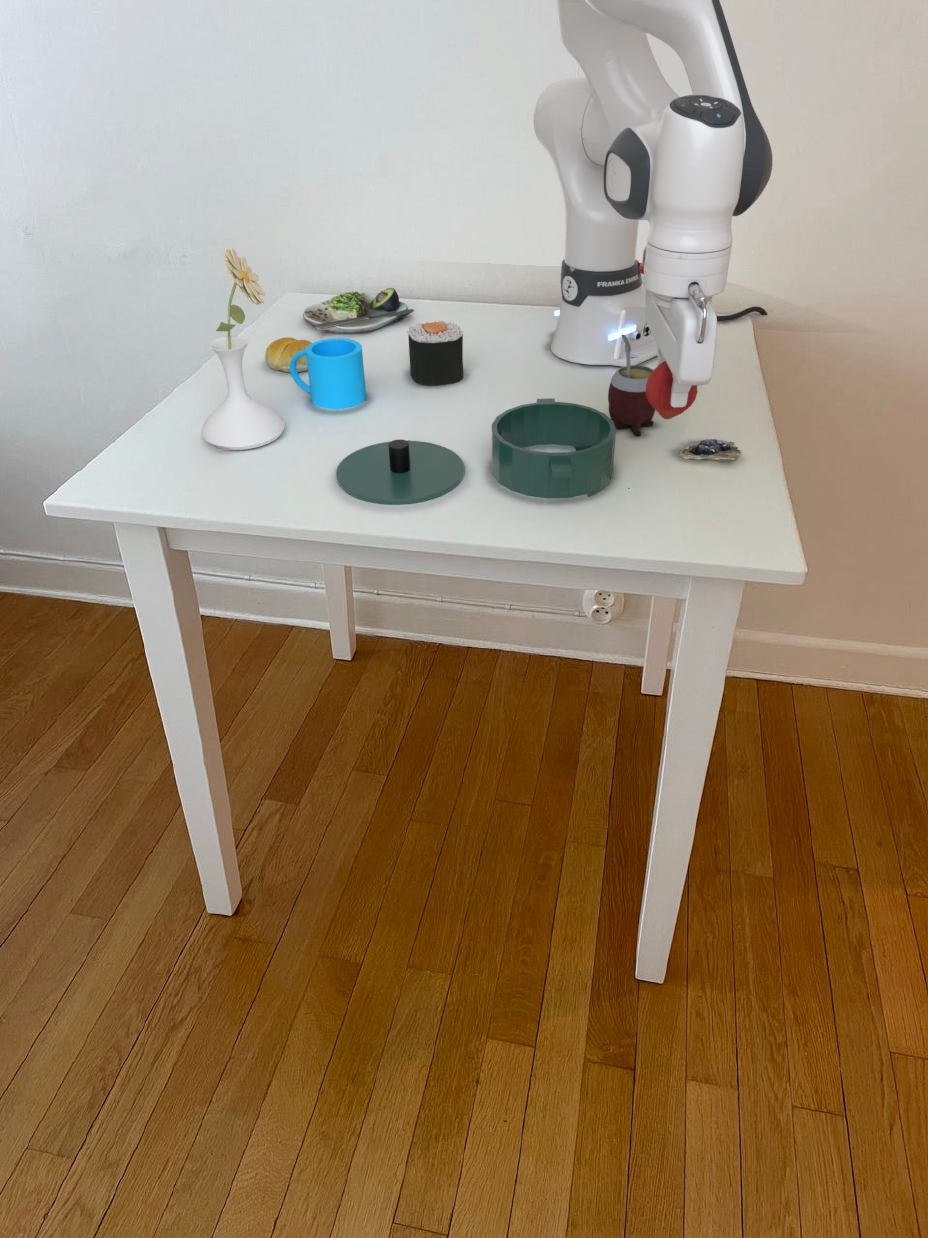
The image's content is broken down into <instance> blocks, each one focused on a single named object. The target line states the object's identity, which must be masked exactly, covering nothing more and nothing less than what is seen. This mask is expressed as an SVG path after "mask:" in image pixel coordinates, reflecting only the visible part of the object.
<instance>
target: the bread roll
mask: <svg viewBox="0 0 928 1238" xmlns="http://www.w3.org/2000/svg"><path fill="white" fill-rule="evenodd" d="M312 343H313V342H312V341H309V340H307V339H296V338H294V337H280V338H278V339H276V340H273V342H271V343H270V344H268V346H267V348H266V349H265V355H264V357H265V362H266V365H267V366H268V367H269V368H270V369H272V370H275V371H282V372H284V373H290V362H291V360H292V357H293V356H294V355H295V354H296V353H298V352H299V351H302V350H305V349H306V347H308V346H309V345H310V344H312ZM306 371H308V368H307V360H306V355H304V356H302V357H301V358H299V360H298V362H297V372H298V373H301V372H306Z"/></svg>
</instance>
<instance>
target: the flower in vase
mask: <svg viewBox="0 0 928 1238" xmlns="http://www.w3.org/2000/svg"><path fill="white" fill-rule="evenodd" d="M223 258H224V263H225V266H226V269H227V271H228V273H229V274H230V276H231V279H232V280H233V282H234V283H233V285H232V288H231V292H230V295H229V298H228V306H227V323H226V322H223V321H220V323H219V326H218V328H217V329H216V330H215V332H227V336H223V337H219V338H215V339H214V340H212V341H210V343H209V344H208V345H209V348H210V349H211V350H212V351H213V352H214V353H215V354H216V356H217V358H218V359H219V361H220V363H221V365H222V369H223V371H224V375H225V379H226V385H227V395H226V398H225V399H224V400H223V402H222V403H221V404H220V405H219V406H218V407H217V408H216V409H215V410H214V411H213V412H212V413H210V415H208V417H207V418H206V419H205V420H204V422H203V424H202V428H201V433H200V434H201V437H202V439H203V440H204V441H205V442H206V443H207V444H209V445H211V446H212V447H215V448H217V449H220V450H221V449H222V450H229V451H230V450H231V451H242V450H244V451H245V450H252V449H255V448H259V447H262V446H266V445H268V444H270V443H272V442H274V441H275V440H277V439H279V437H280V436H281V435H282V434H283V432H284V430H285V428H286V423H285V421H284V419H283V418H282V416H281V414H280V413H278V412H277V411H276V410H275V409H273V408H272V407H270V406H268V405H267V404H265V403H262V402H260V401H259V400H257V399H255V398H253V397H252V396H251V395H250V394H249V393H248V391H247V389H246V384H245V381H244V372H243V371H244V370H243V357H244V353H245V350H246V348H247V346H248V344H249V340H248V339H247V338H245V337H242V336H236V335H233V336H232V335H231V330H232V329H234V328H235V327H236V326H237V324H239V325H242V324H243V323H244V322H245V321H246V320H245V319H246V315H245V312H244V310H243V308H242V307H240V306H239V305H236V304H232V302H233V298H234V295H235V291H236V289H238V290H239V292H241V293H242V295H243V296H244V297H245V298H246V299H247V300H248V301H249V302H250V303H251V304H255V305H257V306H259V305H260V306H261V305H262V304H265V301H264V299H263V298H262V297H261V296H263V297H264V296H265V294H266V293H265V291H264V290H263V288H262V286H261V284H259V283H258V282H259V279H260V278H259V275H258V274H257V273H255V272H253V269H252V268H251V266H249V265H248V260H247V259H246V257H245V256H241V257H239V256H238V254H237V251H236V249H234V248H233V246H230V247H229V249H228V248H227V247H225V248H224V252H223ZM260 295H261V296H260ZM231 319H232V320H233V321H234V322H235V323H237V324H231Z"/></svg>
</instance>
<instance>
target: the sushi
mask: <svg viewBox="0 0 928 1238" xmlns="http://www.w3.org/2000/svg"><path fill="white" fill-rule="evenodd" d="M406 333H407V337H408V353H409V354H408V356H409V370H410V371H409V372H410V373H409V374H410V377H411V379H412V380H413V381H414V382H415V383H416V384H418V385H421V386H430V387H431V386H432V387H433V386H435V387H436V386H445V385H452V384H456V383H459V382H460V381H462V380H463V379H464V358H463V357H464V355H463V354H464V353H463V352H464V347H463V346H464V331H462V327H461V326H459V325H457V324H455V323H454V322H451V321H446V322H445V321H443V320H439V321H436V320H434V321H433V322H432V321H431V322H428V321H425V323H423V322H422V323H421V322H419V323H418V324H416V325H414V326H409V327H408V329H407V330H406Z"/></svg>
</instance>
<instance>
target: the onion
mask: <svg viewBox="0 0 928 1238" xmlns="http://www.w3.org/2000/svg"><path fill="white" fill-rule="evenodd" d="M672 375H673V374H672V372H671V370H670V368H669V367H668V365H667V363H666V361H664V362H662V363H661V364H659V365H658V364H657V366H656V367H655V368H654V369H653V372H652V373H651V374H650V376H649V378H648V380H647V383H646V397H647V399H648V402H649V403H650V404H651V406H652V407H653V408H654V409H655V412H657V413H658V414H659V415H660V416H661V417H662V419H664V420H670V419H673V418H675V417H678V416H679V415H681V414H683V413H684V412H686V411H687V410H688V409H689V408H691V406H692V405H693V404H694V402H695V401H696V398H697V394H698V385H692V386H691V388H690V390H689V392H688V399H687V404H686V406H684V407H672V406H671V404H670V401H669V391H670V387H672V383H673V376H672Z"/></svg>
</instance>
